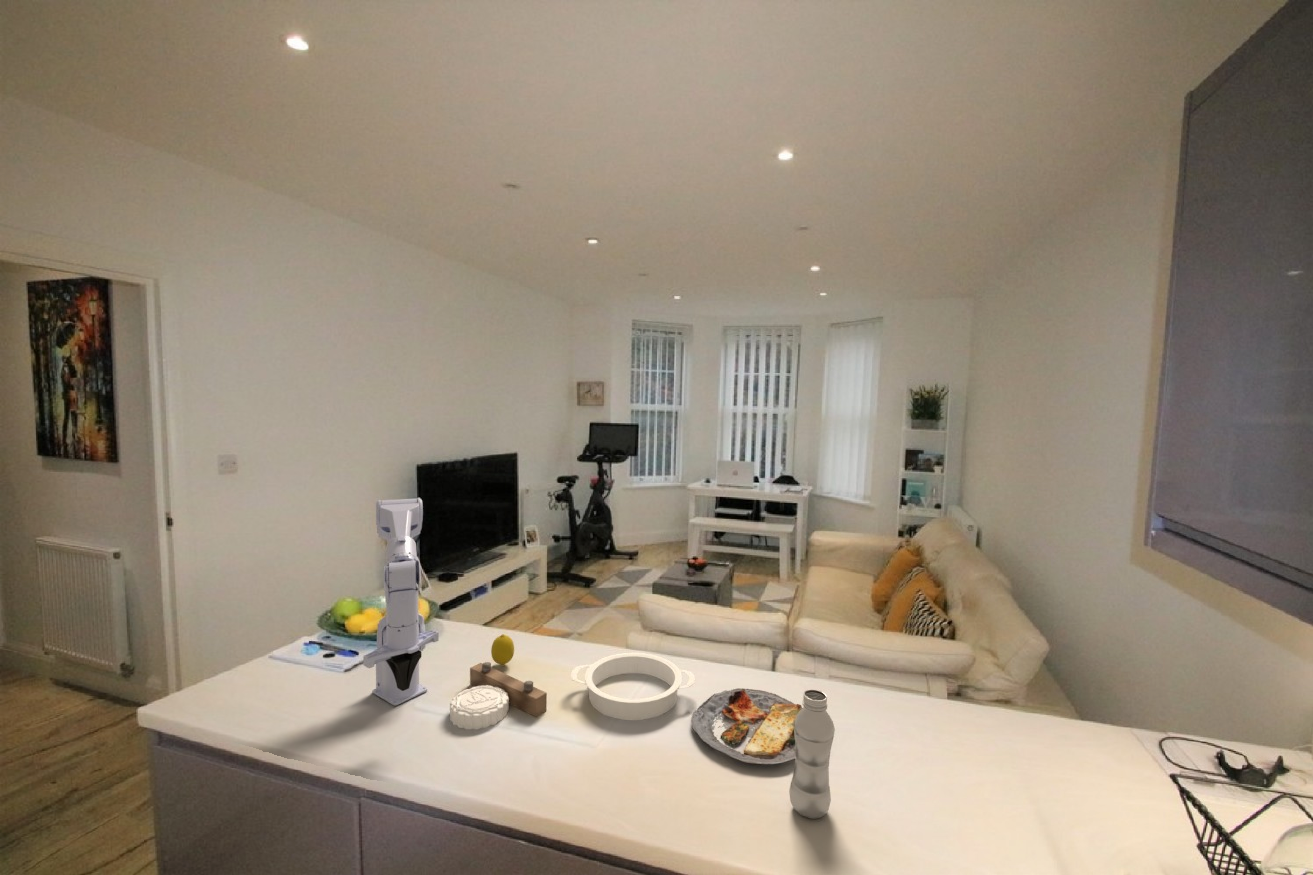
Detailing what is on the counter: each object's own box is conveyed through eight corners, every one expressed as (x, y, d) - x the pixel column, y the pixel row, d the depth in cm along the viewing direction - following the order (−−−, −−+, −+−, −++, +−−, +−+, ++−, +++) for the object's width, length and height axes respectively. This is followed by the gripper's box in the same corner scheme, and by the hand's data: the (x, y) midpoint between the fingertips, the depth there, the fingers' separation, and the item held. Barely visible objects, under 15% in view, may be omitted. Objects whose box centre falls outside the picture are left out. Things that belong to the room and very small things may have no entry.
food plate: (731, 685, 130) (731, 671, 130) (828, 722, 116) (829, 707, 116) (672, 740, 110) (672, 723, 109) (781, 792, 96) (782, 774, 96)
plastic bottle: (783, 796, 94) (788, 685, 93) (821, 795, 95) (827, 684, 93) (796, 825, 88) (801, 706, 86) (836, 823, 88) (843, 705, 87)
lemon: (507, 672, 134) (508, 640, 133) (487, 669, 135) (487, 638, 134) (517, 661, 139) (518, 631, 138) (497, 659, 140) (498, 628, 140)
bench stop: (470, 684, 128) (470, 661, 127) (480, 678, 130) (480, 656, 130) (536, 716, 115) (536, 691, 115) (546, 710, 118) (546, 685, 117)
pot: (559, 720, 115) (560, 698, 115) (580, 668, 137) (580, 649, 137) (695, 728, 113) (696, 706, 113) (693, 674, 136) (694, 655, 135)
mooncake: (500, 693, 125) (500, 677, 124) (515, 720, 114) (515, 704, 114) (445, 706, 119) (445, 691, 118) (455, 737, 108) (455, 720, 108)
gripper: (377, 640, 99) (378, 711, 100) (447, 614, 111) (447, 679, 112) (357, 629, 103) (358, 699, 104) (427, 606, 115) (427, 668, 116)
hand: (403, 688), depth 108 cm, fingers closed
